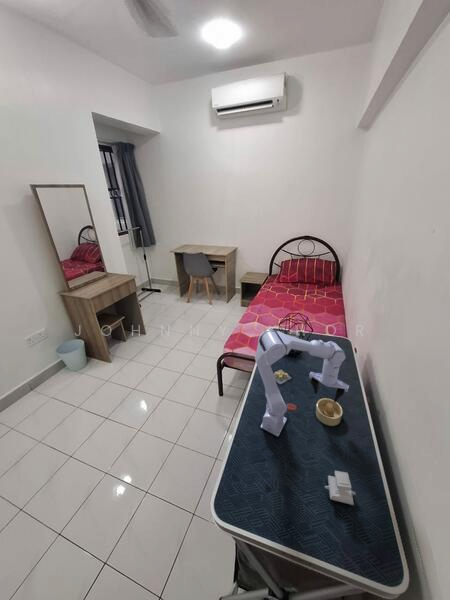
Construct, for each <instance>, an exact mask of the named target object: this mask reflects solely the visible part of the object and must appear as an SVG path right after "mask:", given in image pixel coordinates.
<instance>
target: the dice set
mask: <svg viewBox="0 0 450 600" xmlns="http://www.w3.org/2000/svg"><path fill="white" fill-rule="evenodd" d="M273 375H274V378H275V381H276V383H277V384H279V385H282V384H284V383H286V382H287V381H289V380H291V379H292V376H290V375H289V374H288V373H287V372H285V370H283V369H282V368H280V369H278V370H276V371H274V372H273Z"/></svg>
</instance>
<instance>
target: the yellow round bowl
mask: <svg viewBox="0 0 450 600" xmlns="http://www.w3.org/2000/svg"><path fill="white" fill-rule="evenodd" d="M334 400H335V399H331V398H327V397H325V398H320V399H318V401H316V406H315V416H316V418H317V419H318V421H319V422H321V423H322V424H324V425H326V426H330V427H335V426H337V425H339V424H340V423H341V421H342V417H343V408H342V406H341V405H340V403H339V402H337V401H336V402H334ZM327 403H331V404H332V405H333V410H334V417H333V418H332V417H328V416H325V415H324V414H323V409H324V408H325V407H326V406H327Z"/></svg>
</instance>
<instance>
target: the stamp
mask: <svg viewBox="0 0 450 600" xmlns="http://www.w3.org/2000/svg"><path fill="white" fill-rule="evenodd" d="M327 482H328V485H325V486H324V488H325V490H327V491H328V492H329V499H330V500H332V501H335V502H340V503H343V504H348V505H351V506H355V503H354V498H353V497H354V496H356V495H357V494H356V492H355V491H353V490H352V484H351V480H350V476H349V473H348V472H345V471H339V470H334V476H333V475H327Z"/></svg>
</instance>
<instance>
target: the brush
mask: <svg viewBox="0 0 450 600" xmlns="http://www.w3.org/2000/svg"><path fill="white" fill-rule="evenodd" d="M323 414H324V415H325V416H328V417H332V418H333V417H334V410H333V405H332V404H331V403H327V406H326V407H325V408H324V409H323Z"/></svg>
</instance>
